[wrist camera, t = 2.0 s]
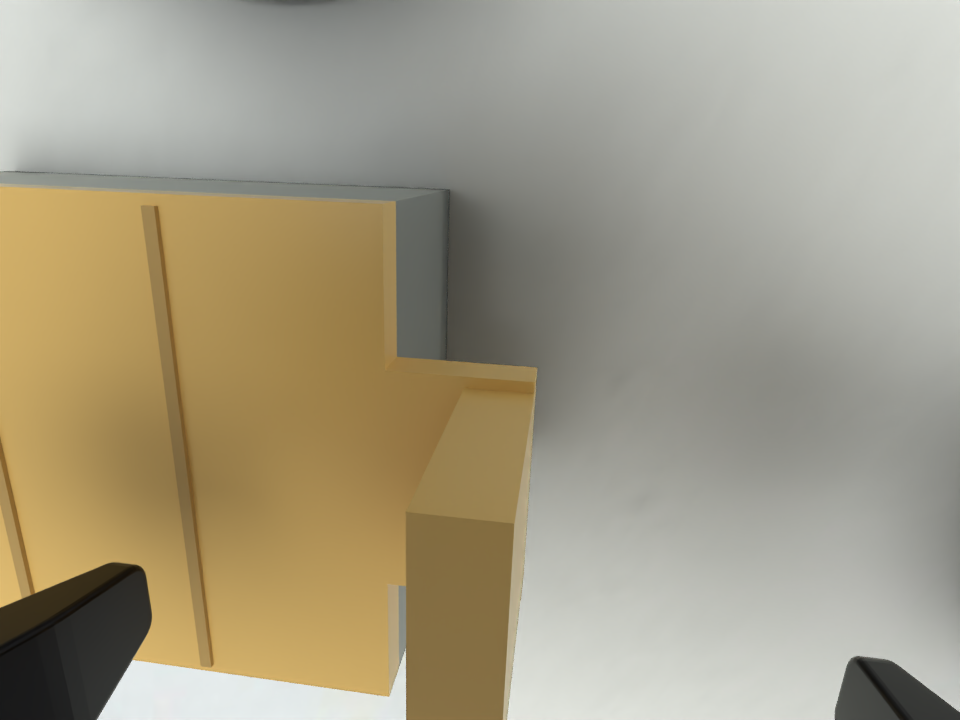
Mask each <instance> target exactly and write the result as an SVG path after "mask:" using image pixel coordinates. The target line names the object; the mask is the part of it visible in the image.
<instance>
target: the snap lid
mask: <svg viewBox="0 0 960 720" xmlns="http://www.w3.org/2000/svg"><path fill="white" fill-rule="evenodd" d="M536 381H537V367H525V366H511V365H498V364H485V363H472V362H459V361H445V360H432V359H419V358H406V357H397V306H396V201H383V200H360V199H338V198H316V197H293V196H271V195H249V194H227V193H204V192H182V191H160V190H137V189H115V188H93V187H71V186H48V185H26V184H4V183H0V608H1V607H3V606H5V605H8V604H10V603H13V602H15V601H18V600H20V599H22V598H25V597H27V596H30V595H32V594H34V593H37V592H39V591H42V590H44V589H47V588H49V587H51V586H54V585H56V584H59V583H61V582H64V581H66V580H68V579H71V578H73V577H76V576H78V575H80V574H83V573H85V572H88V571H90V570H93V569H95V568H97V567H100V566H102V565H105V564H107V563H111V562H119V563H127V564H135V565H139V566H141V567H142V568H143V569H144V571H145V573H146V578H147V584H148V590H149V597H150V603H151V610H152V622H151V626H150V629H149V632H148V634H147V636H146V638H145V639H144V641H143V643H142V644H141V646H140V648H139V650H138V651H137V653H136V655H135V656H134V658H133V660H137V661H144V662H151V663H158V664H165V665H172V666H179V667H186V668H193V669H200V670H207V671H214V672H221V673H228V674H235V675H242V676H249V677H256V678H263V679H270V680H276V681H283V682H290V683H297V684H304V685H311V686H318V687H325V688H332V689H339V690H346V691H353V692H360V693H367V694H374V695H381V696H388V697H389V696H390V693H391V690H392V687H393V684H394V681H395V678H396V675H397V672H398V669H399V586H406V720H507V714H508V705H509V696H510V687H511V678H512V670H513V661H514V652H515V643H516V634H517V625H518V616H519V607H520V600H521V593H522V584H523V575H524V561H525V546H526V531H527V516H528V501H529V486H530V471H531V456H532V441H533V426H534V411H535V396H536ZM398 585H399V586H398Z"/></svg>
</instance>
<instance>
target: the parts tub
mask: <svg viewBox="0 0 960 720" xmlns="http://www.w3.org/2000/svg"><path fill="white" fill-rule="evenodd" d="M0 183H4V184H26V185H48V186H71V187H93V188H115V189H137V190H160V191H182V192H204V193H227V194H249V195H271V196H293V197H316V198H338V199H360V200H383V201H396V306H397V357H406V358H419V359H432V360H445V361H446V340H447V286H448V232H449V190H444V189H421V188H397V187H373V186H350V185H326V184H302V183H278V182H255V181H231V180H207V179H184V178H160V177H136V176H112V175H89V174H65V173H41V172H18V171H1V172H0ZM398 586H399V585H398ZM405 648H406V586H399V666H400V663H401V660H402V657H403V654H404V651H405Z"/></svg>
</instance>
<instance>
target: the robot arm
mask: <svg viewBox="0 0 960 720" xmlns="http://www.w3.org/2000/svg"><path fill="white" fill-rule="evenodd" d="M151 622H152V610H151V603H150V597H149V590H148V584H147V578H146V573H145V571H144V569H143V568H142V567H141V566H139V565H135V564H127V563H119V562H111V563H107V564H105V565H102V566H100V567H97V568H95V569H93V570H90V571H88V572H85V573H83V574H80V575H78V576H76V577H73V578H71V579H68V580H66V581H64V582H61V583H59V584H56V585H54V586H51V587H49V588H47V589H44V590H42V591H39V592H37V593H34V594H32V595H30V596H27V597H25V598H22V599H20V600H18V601H15V602H13V603H10V604H8V605H5V606H3V607H1V608H0V720H97V718H98V717H99V715H100V713H101V712H102V710H103V708H104V707H105V705H106V703H107V702H108V700H109V698H110V697H111V695H112V693H113V692H114V690H115V688H116V687H117V685H118V683H119V681H120V680H121V678H122V676H123V675H124V673H125V671H126V670H127V668H128V666H129V665H130V663H131V661H132V660H133V658H134V656H135V655H136V653H137V651H138V650H139V648H140V646H141V644H142V643H143V641H144V639H145V638H146V636H147V634H148V632H149V629H150V626H151ZM835 720H960V712H958V711H957V710H956V709H955V708H953V707H952V706H951V705H949V704H948V703H947V702H945V701H944V700H943V699H941V698H940V697H939V696H938V695H936V694H935V693H934V692H932V691H931V690H930V689H928V688H927V687H926V686H924V685H923V684H922V683H921V682H919V681H918V680H917V679H915V678H914V677H913V676H911V675H910V674H909V673H907V672H906V671H905V670H903V669H902V668H901V667H900V666H898V665H897V664H895V663H894V662H892V661H889V660H885V659H878V658H870V657H862V656H856V657H853V658H851V660H850V661H849V662H848V665H847V667H846V671H845V674H844V678H843V682H842V686H841V689H840V693H839V697H838V701H837V704H836V709H835Z"/></svg>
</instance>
